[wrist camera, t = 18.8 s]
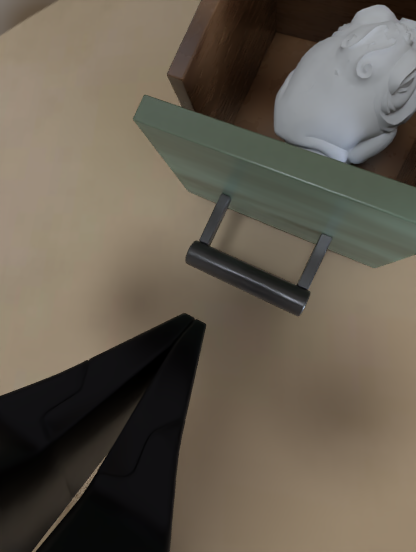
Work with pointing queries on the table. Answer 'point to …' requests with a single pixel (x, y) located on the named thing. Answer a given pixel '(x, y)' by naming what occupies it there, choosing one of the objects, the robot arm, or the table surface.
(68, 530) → the robot arm
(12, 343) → the table surface
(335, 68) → the white carved sculpture
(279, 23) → the drawer
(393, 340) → the table surface
